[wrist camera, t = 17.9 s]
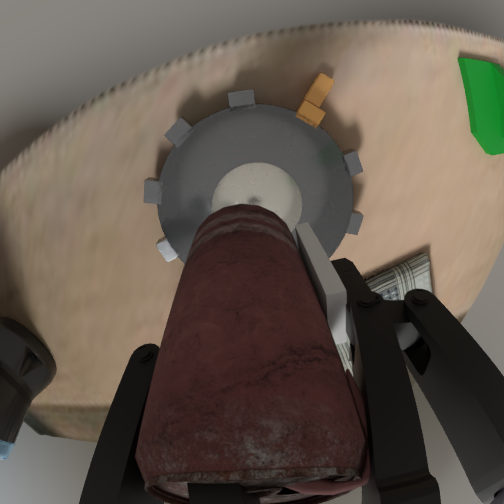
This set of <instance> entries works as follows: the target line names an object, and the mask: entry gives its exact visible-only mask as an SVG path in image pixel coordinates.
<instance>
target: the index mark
mask: <svg viewBox="0 0 504 504" xmlns="http://www.w3.org/2000/svg"><path fill="white" fill-rule="evenodd" d="M334 82H335V81H334V80H332V79H331V78H329V77H328V76H326V75H325V74H323V73H319V74H318V75H317V77H316V79H315V80H314V82H313V84H312V85H311V87H310V89H309V90H308V92H307V94H306V95H305V97H304V99H303V100H306V101H308V102H309V103H311V104H313V105H314V106H316V107H317V108H319V107H320V105H321V104H322V102H323V100H324V99H325V97H326V95H327V94H328V92H329V90H330V89H331V87H332V85H333V83H334Z"/></svg>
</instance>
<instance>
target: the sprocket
mask: <svg viewBox="0 0 504 504" xmlns="http://www.w3.org/2000/svg"><path fill="white" fill-rule="evenodd" d="M228 99H229V105H230V108H228V109H224V110H221V111H219V112H216V113H214V114H212V115H210V116H208V117H206V118H204V119H203V120H201V121H200V122H198V123H197V124H195V125H194V126H193V125H191V124H190V123H189V122H188V121H187V120H186V119H185V118H184V117H180V118H179V120H178V121H177V122H176V123H175V124H174V125H173V126H172V127H171V128H170V129H169V130H168V131H167V133H166V134H165V135H164V136H165V137H166V138H167V139H168V140H170V141H171V142H172V143H173V144H174V145H175V146H174V147H173V149H172V150H171V152H170V154H169V155H168V157H167V159H166V162H165V164H164V166H163V169H162V172H161V175H160V178H152V177H149V178H147V179H146V180H145V187H144V203H152V204H157V207H158V215H159V220H160V223H161V227H162V230H163V232H164V235H165V237H163V238H161V239H159V240H158V242H157V244H156V246H157V248H158V249H159V251H160V252H161V254H162V255H163V257H164V258H165V260H166V261H167V262H169V261H171V260H173V259H175V258H177V257H179V258H180V260H181V261H182V262H183V263H185V262H186V259H187V256H188V253H189V250H190V247H191V244H192V241H193V239H194V237H195V234H196V232H197V229H198V227H199V226H200V225H201V224H202V223H203V222H204V220H205V219H206V218H207V217H208V216H209V215H211V214H212V213H214V212H216V211H218V210H220V209H221V208H223V207H227V206H232V205H236V204H250V205H259V206H261V207H263V208H266V209H268V210H270V211H272V212H274V213H276V214H277V215H278V216H279V217H280V218H281V219H282V220H283V221H284V222H285V223H286V224H287V226H288V228H289V230H290V231H291V233H292V235H293V237H294V240H295V242H296V244H297V247H298V243H297V237H296V230H295V225H296V224H301V223H306V222H308V223H309V225H310V227H311V228H312V230H313V232H314V233H315V235H316V237H317V239H318V240H319V242H320V244H321V245H322V247H323V249H324V251H325V253H326V254H327V256H328V258H330V257H331V256H332V254H333V253H334V252H335V250H336V249H337V248H338V246H339V245H340V243H341V241H342V239H343V237H344V236H345V233H349V234H354V235H358V232H359V228H360V225H361V222H362V219H363V216H364V215H363V214H361V213H360V212H359V211H356V210H352V209H353V184H352V178H351V177H352V176H354V175H356V174H359V173H361V172H363V169H362V166H361V163H360V160H359V157H358V154H357V152H356V150H353V149H349V150H347V151H344V152H341V150H340V149H339V147H338V146H337V144H336V143H335V141H334V140H333V139H332V138H331V137H330V136H329V135H328V133H327V132H326V131H324V130H323V129H322V128H321V127H320V126H319V124H320V122H321V120H322V118H323V117H324V115H325V112H324V111H322V110H321V109H319V108H317V107H316V106H314V105H313V104H311V103H309V102H308V101H306V100H303V101H301V103H300V105H299V106H298V108H297V110H296V111H295V112H294V111H292V110H289V109H286V108H282V107H279V106H273V105H265V104H255V98H254V91H253V89H251V90H243V91H236V92H229V93H228Z"/></svg>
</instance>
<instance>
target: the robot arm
mask: <svg viewBox="0 0 504 504" xmlns="http://www.w3.org/2000/svg"><path fill="white" fill-rule="evenodd" d="M295 230H296V237H297V243H298V249H299V252H300V254H301V256H302V259H303V261H304V264H305V266H306V269H307V271H308V274H309V276H310V279H311V281H312V284H313V286H314V289H315V291H316V294H317V296H318V299H319V301H320V304H321V307H322V309H323V312H324V314H325V317H326V320H327V322H328V325H329V328H330V330H331V333H332V336H333V338H334V341H335V344H336V345H337V344H341V343H345V342H347V336H348V338H349V340H350V349H349V361H351V364H352V371H353V378H354V380H355V382H356V384H357V386H358V388H359V390H360V392H361V393H362V396H363V401H364V407H365V415H366V424H367V434H368V444H369V446H368V447H369V460H370V477H369V480H368V482H367V483H366V484H365V485H364V486H362V504H441V499H440V490H439V485H438V483H437V480H436V478H434V477H433V476H432V475H431V474H430V472H429V469H428V463H427V457H426V450H425V445H424V439H423V434H422V429H421V424H420V419H419V415H418V411H417V406H416V402H415V398H414V394H413V390H412V386H411V382H410V378H409V375H408V371H407V368H406V365H407V367H408V369H409V370H410V372H411V374H412V375H413V377H414V378H415V380H416V382H417V383H418V385H419V387H420V388H421V390H422V392H423V393H424V395H425V397H426V399H427V401H428V402H429V404H430V406H431V408H432V409H433V411H434V413H435V415H436V416H437V418H438V420H439V422H440V424H441V425H442V427H443V429H444V431H445V433H446V435H447V437H448V439H449V441H450V443H451V444H452V446H453V448H454V450H455V452H456V454H457V456H458V458H459V460H460V462H461V464H462V466H463V469H464V471H465V473H466V475H467V477H468V479H469V482H470V484H471V486H472V487H473V489H474V491H475V493H476V495H477V496H478V498H479V499H480V500H481V501H482V503H483V504H504V376H503V375H502V374H501V372H500V371H499V370H498V368H497V367H496V366H495V364H494V363H493V362H492V361H491V359H490V358H489V357H488V355H487V354H486V353H485V352H484V351H483V349H482V348H481V347H480V346H479V345H478V343H477V342H476V341H475V340H474V339H473V337H472V336H471V335H470V334H469V333H468V332H467V330H466V329H465V328H464V327H463V326H462V325H461V324H460V322H459V321H458V320H457V319H456V318H455V317H454V316H453V315H452V314H451V312H450V311H449V310H448V309H447V308H446V307H445V306H444V305H443V304H442V303H441V302H440V301H439V300H438V299H437V298H436V297H435V296H434V294H432V293H431V292H430V291H428V290H425V289H418V288H417V289H412V290H410V291H408V292H407V293H406V294H405V296H404V300H385V299H383V297H382V296H381V295H380V294H378V293H377V292H373V291H371V289H370V288H369V286H368V285H367V283H366V282H365V280H364V279H363V277H362V276H361V275H360V273H359V271H358V270H357V268H356V267H355V265H354V264H353V262H351V261H350V260H348V259H346V258H342V259H337V260H333V261H330V260H329V258H328V256H327V254H326V253H325V251H324V249H323V247H322V245H321V244H320V242H319V240H318V239H317V237H316V235H315V233H314V232H313V230H312V228H311V227H310V225H309V223H308V222H306V223H301V224H296V225H295ZM159 350H160V348H159V346H157V345H155V344H150V343H149V344H144V345H142V346H140V347H138V348H137V349H136V350H135V351H134V352H133V354H132V355H131V357H130V360H129V362H128V365H127V367H126V369H125V372H124V374H123V377H122V379H121V381H120V384H119V386H118V389H117V391H116V394H115V397H114V399H113V402H112V404H111V407H110V410H109V412H108V415H107V418H106V420H105V423H104V426H103V429H102V431H101V434H100V437H99V440H98V443H97V446H96V449H95V452H94V455H93V458H92V461H91V464H90V467H89V471H88V474H87V477H86V481H85V484H84V487H83V491H82V494H81V498H80V502H79V504H164V502H163V501H161V500H159V499H157V498H155V497H152V496H150V495H149V494H148V493H147V492H146V491H145V490H144V487H145V481H144V479H143V477H142V474H141V472H140V469H139V467H138V464H137V461H136V459H135V454H136V449H137V443H138V438H139V434H140V429H141V424H142V419H143V415H144V410H145V406H146V402H147V397H148V393H149V389H150V385H151V381H152V377H153V373H154V369H155V365H156V361H157V357H158V353H159ZM55 374H56V366H55V363H54V361H53V359H52V357H51V355H50V354H49V352H48V351H47V350H46V348H45V347H44V346H43V345H42V344H41V342H40V341H39V340H38V339H37V338H36V337H35V336H34V335H33V334H31V333H30V332H29V331H28V330H27V329H25V328H24V327H23V326H21V325H20V324H18V323H17V322H15V321H13V320H10V319H7V318H0V460H5V459H7V458H8V457H9V455H10V453H11V451H12V448H13V447H14V446H15V441H16V438H17V436H18V433H19V430H20V428H21V425H22V423H23V420H24V418H25V416H26V413H27V411H28V409H29V406H30V404H31V402H32V400H33V399H34V398H35V397H36V396H37V395H38V394H39V393H40V392H42V391H43V390H44V389H45V388H46V387H47V386H48V385H49V384H50V383H51V382H52V380H53V378H54V376H55ZM364 468H365V466H364ZM363 470H364V469H363ZM187 487H188V495H189V502H190V504H261V502H260V499H259V498H256V497H257V496H256V495H255V494H253V493H247V492H246V491H250V490H248V489H247V488H246V487H245V486H242V485H241V484H240V483H187Z"/></svg>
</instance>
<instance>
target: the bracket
mask: <svg viewBox="0 0 504 504" xmlns="http://www.w3.org/2000/svg"><path fill="white" fill-rule="evenodd" d="M458 62H459V66H460V70H461V74H462V79H463V83H464V88H465V94H466V99H467V105H468V112H469V119H470V127H471V133H472V134H473V135H474V137H475V138H476V140H477V141H478V142H479V144H480V145H481V147H482V148H483V149H484V151H485V152H486V153H487V154H490V155H496V154H502V153H504V69H503V68H502V67H501V66H500V65H499V64H496V63H491V62H486V61H480V60H474V59H468V58H458Z"/></svg>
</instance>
